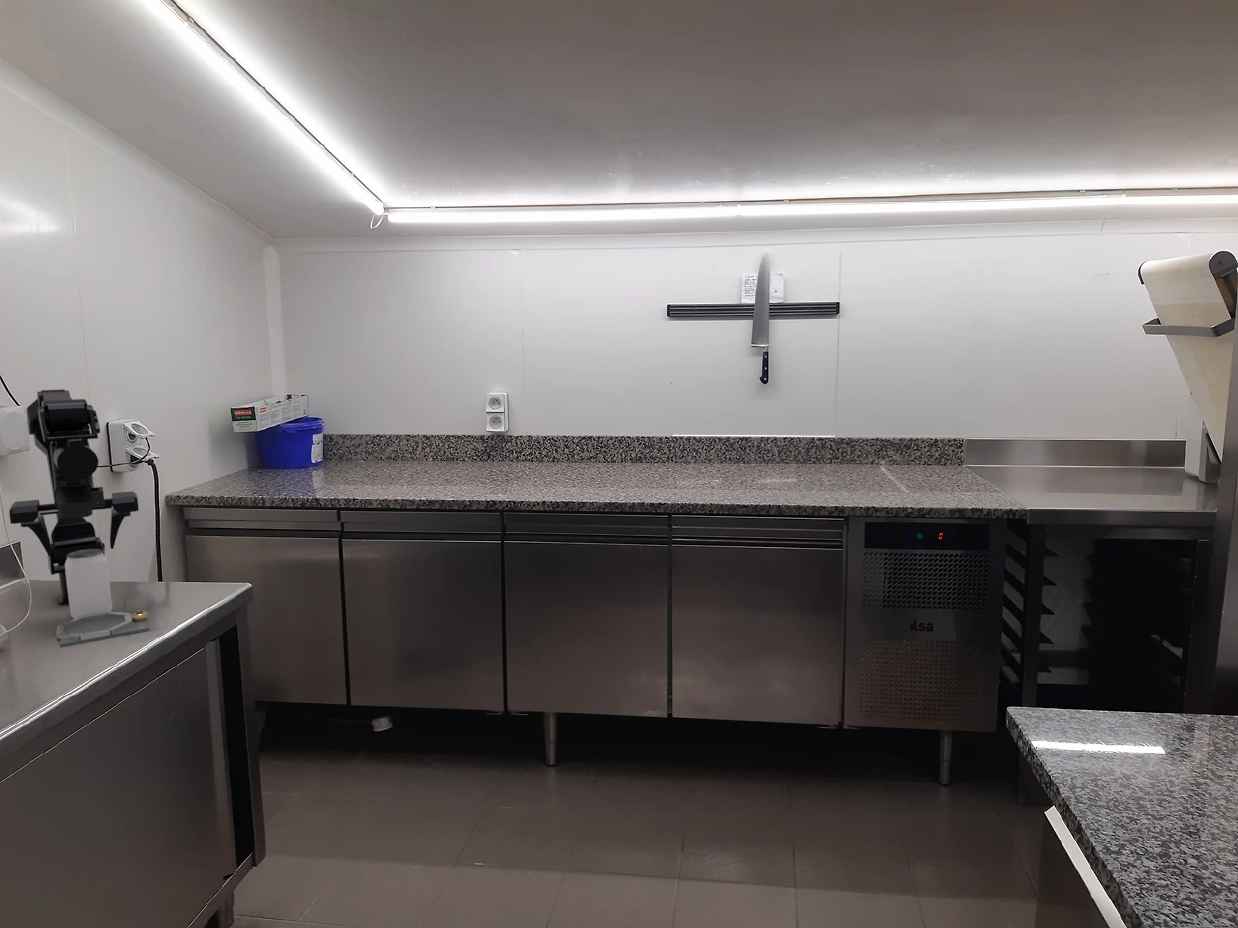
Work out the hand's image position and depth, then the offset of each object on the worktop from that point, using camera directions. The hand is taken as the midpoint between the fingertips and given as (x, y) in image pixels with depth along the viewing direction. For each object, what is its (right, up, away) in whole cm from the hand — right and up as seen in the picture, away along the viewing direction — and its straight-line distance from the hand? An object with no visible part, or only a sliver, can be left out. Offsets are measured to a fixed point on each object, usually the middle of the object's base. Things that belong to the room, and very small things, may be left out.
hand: (81, 551), depth 137 cm
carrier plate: (+6, -14, -3) cm, 15 cm away
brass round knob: (+10, -13, +1) cm, 17 cm away
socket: (+5, -14, -3) cm, 15 cm away
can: (-1, -13, +4) cm, 13 cm away
